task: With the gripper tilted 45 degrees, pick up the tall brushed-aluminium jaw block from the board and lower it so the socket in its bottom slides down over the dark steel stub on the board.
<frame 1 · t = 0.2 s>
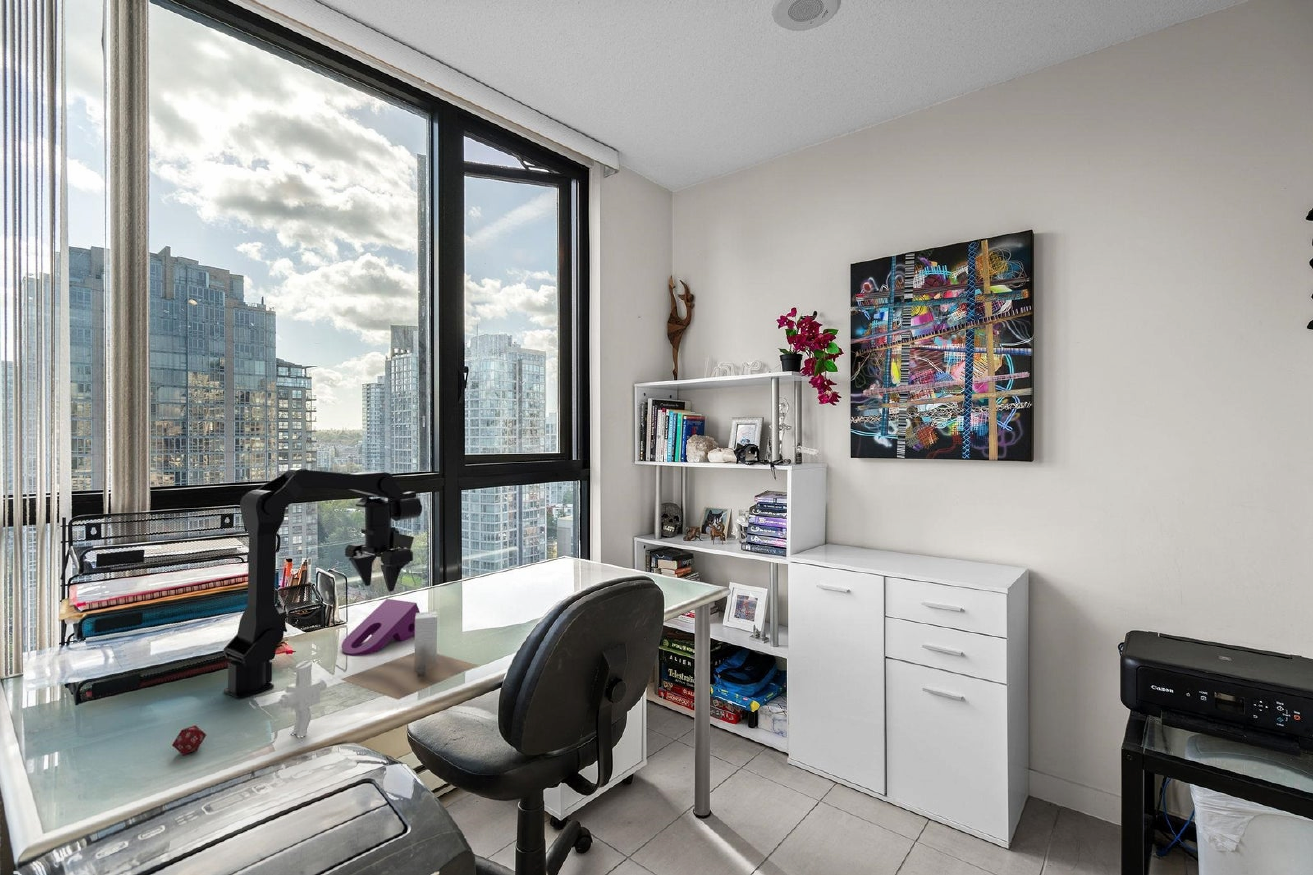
hand: (379, 588, 143), 14 cm above the table, tool pointing down, fingers open, 9 cm apart
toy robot: (303, 733, 103), on the table
stub board: (411, 677, 126), on the table
dice: (189, 753, 96), on the table
jaw block: (425, 665, 130), point 1 cm above the table, touching stub board
mounting bracket: (379, 648, 144), on the table
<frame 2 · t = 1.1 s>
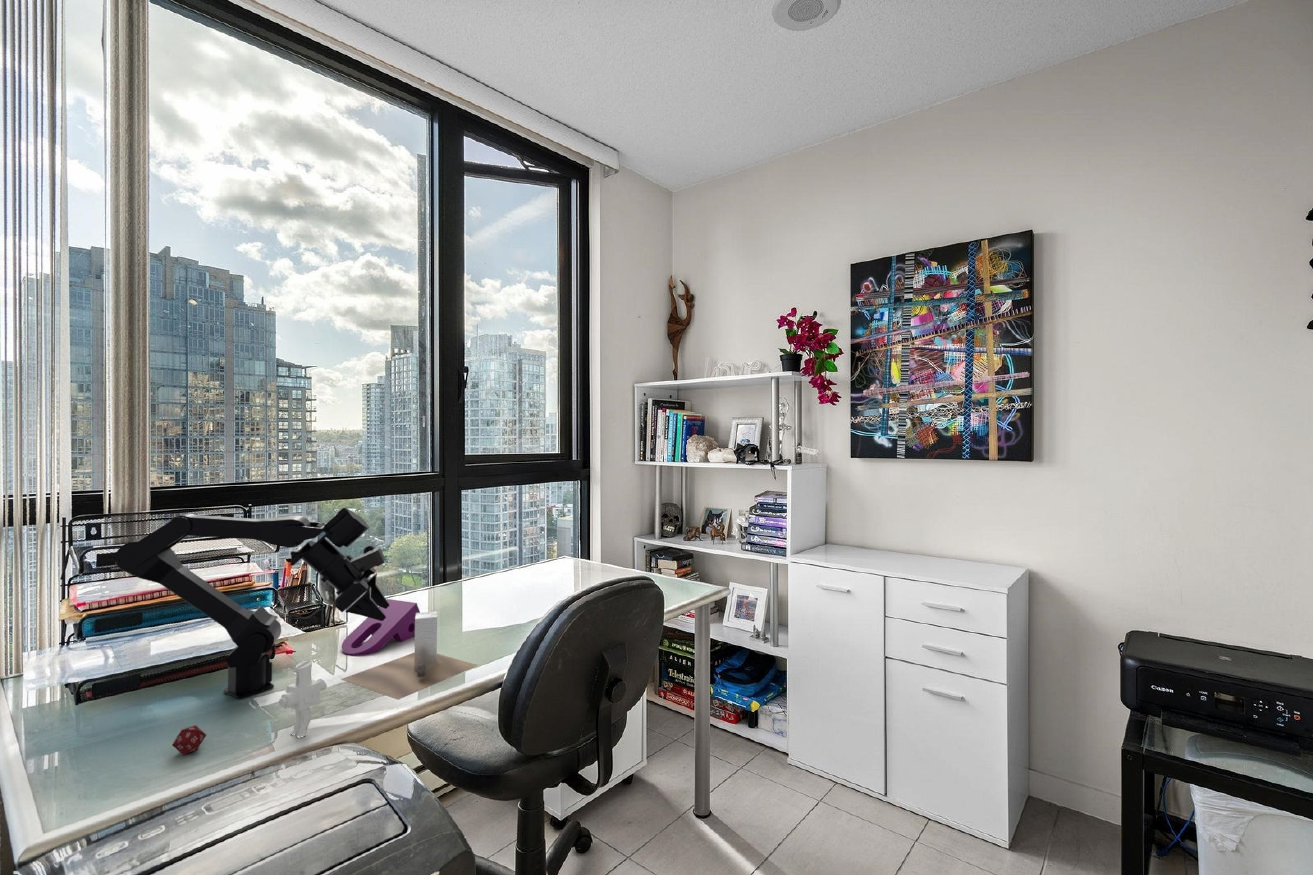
hand: (386, 612, 128), 13 cm above the table, tool tilted 45°, fingers open, 9 cm apart
nothing on the table moved.
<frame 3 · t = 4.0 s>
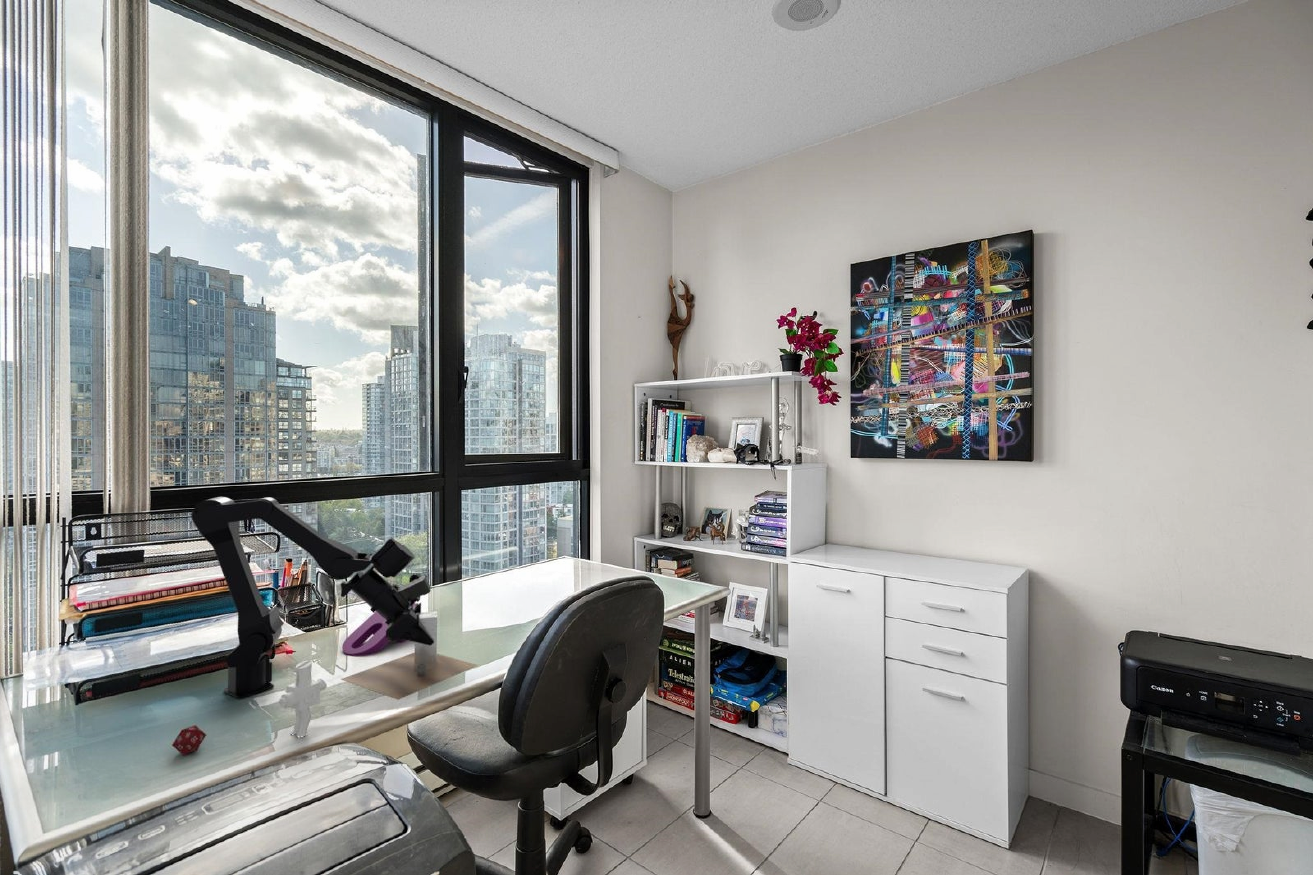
hand: (432, 640, 130), 7 cm above the table, tool tilted 45°, fingers closed on jaw block, 4 cm apart
jaw block: (425, 665, 130), point 1 cm above the table, touching gripper, stub board
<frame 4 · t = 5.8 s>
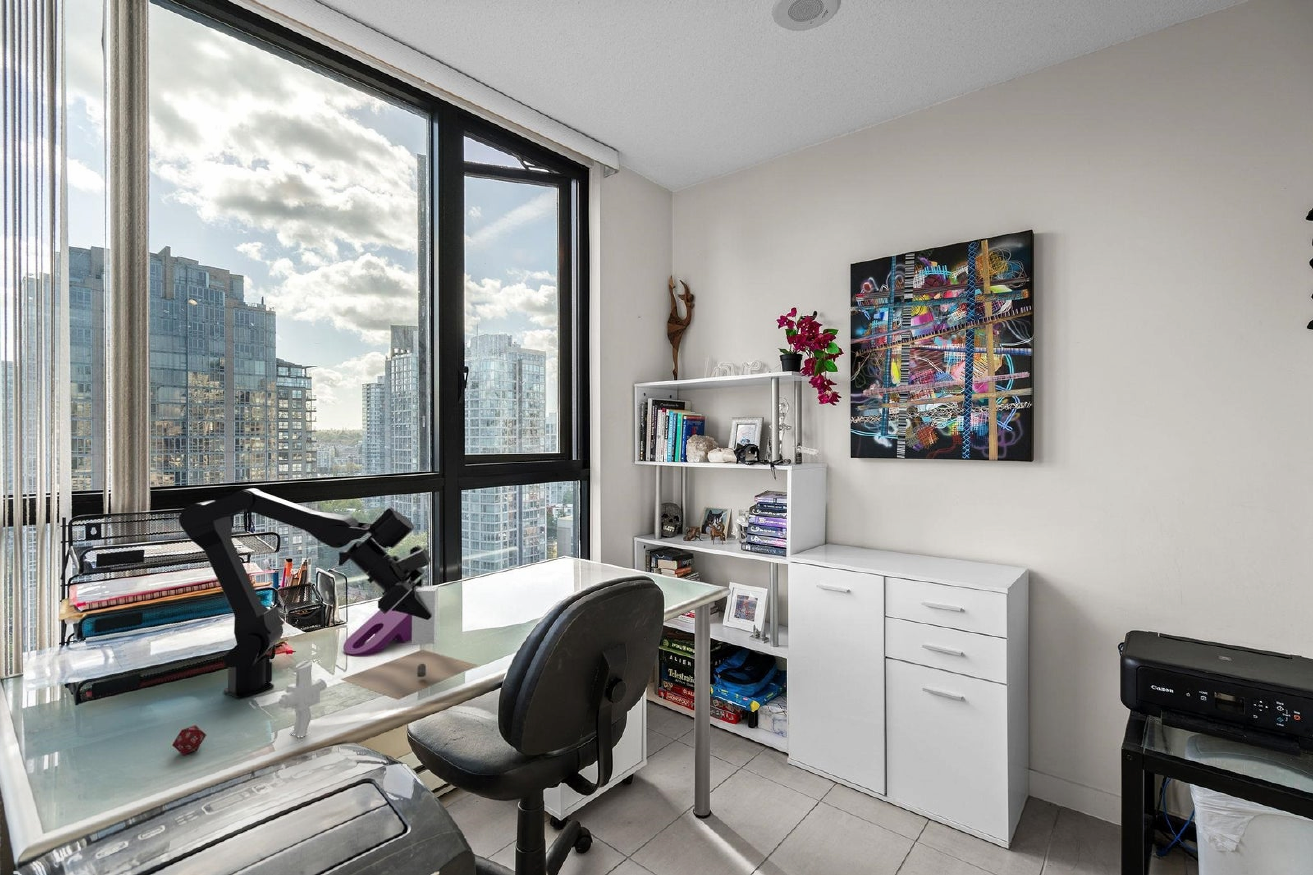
hand: (432, 614, 126), 13 cm above the table, tool tilted 45°, fingers closed on jaw block, 4 cm apart
jaw block: (424, 640, 126), point 8 cm above the table, touching gripper
when the fingers open (7 cm above the table, at t = 7.9 s): jaw block stays where it is, resting on stub board.
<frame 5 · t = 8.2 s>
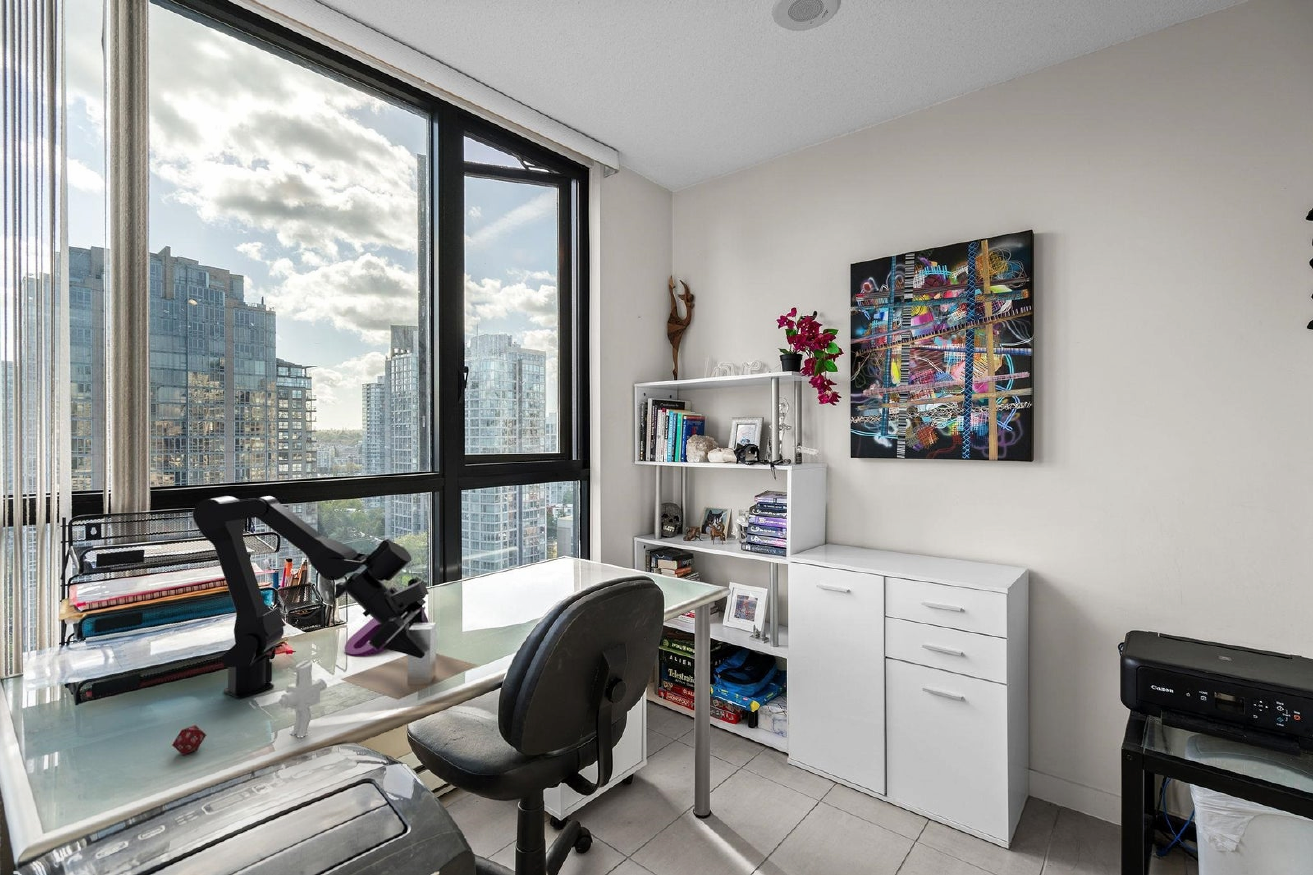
hand: (428, 649, 123), 7 cm above the table, tool tilted 45°, fingers open, 8 cm apart
jaw block: (421, 679, 122), point 1 cm above the table, touching stub board
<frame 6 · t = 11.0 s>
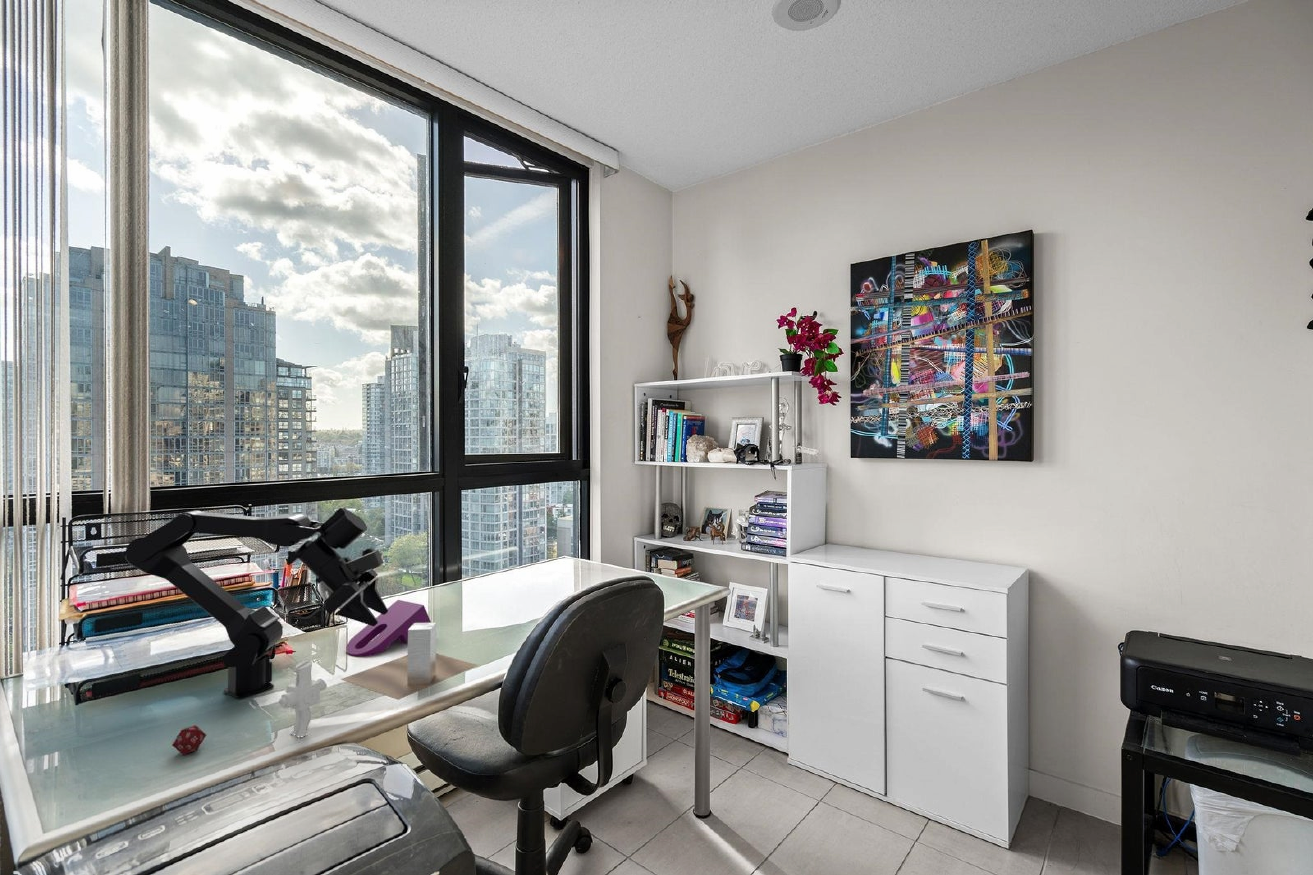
hand: (381, 618, 123), 13 cm above the table, tool tilted 45°, fingers open, 9 cm apart
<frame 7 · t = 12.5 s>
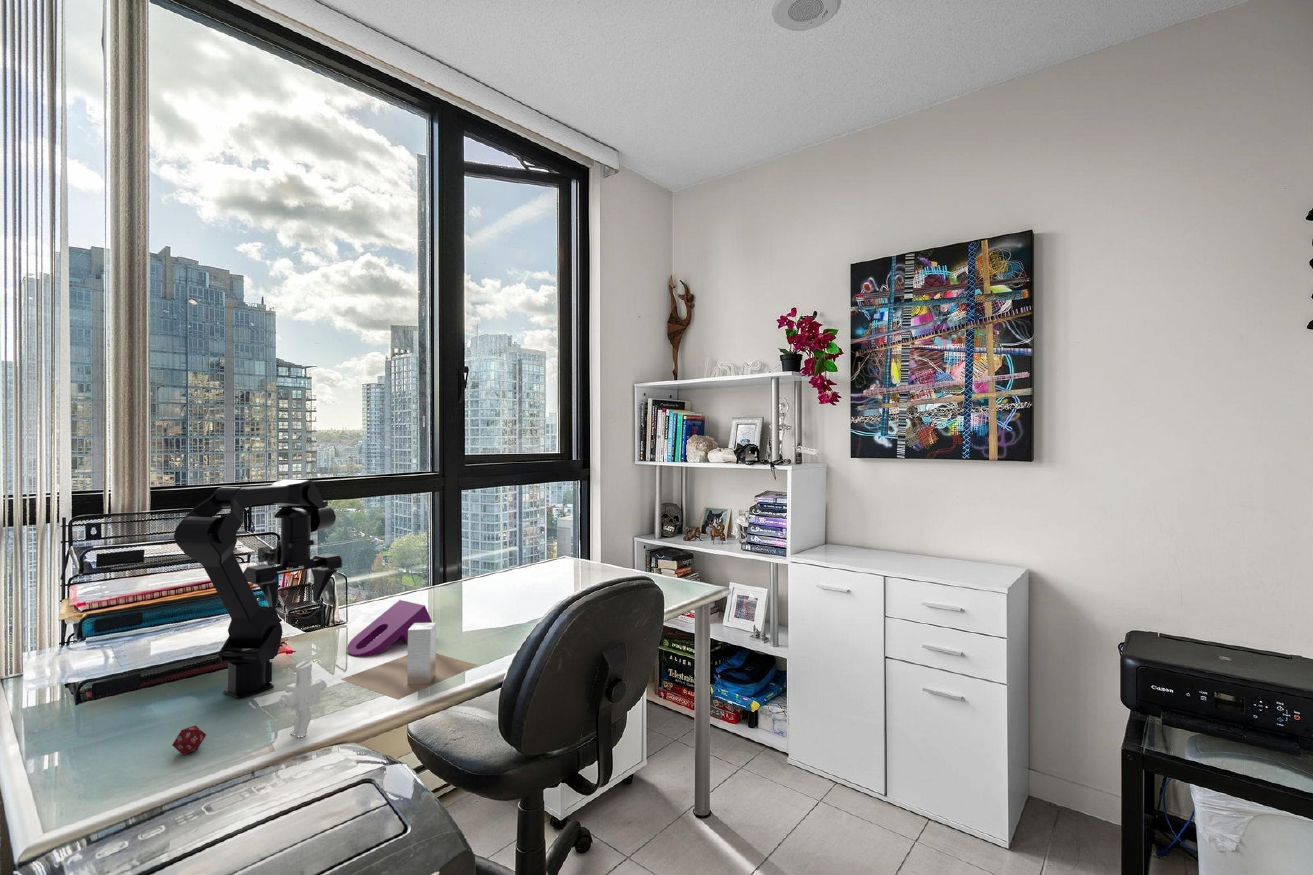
hand: (295, 606, 132), 13 cm above the table, tool pointing down, fingers open, 9 cm apart
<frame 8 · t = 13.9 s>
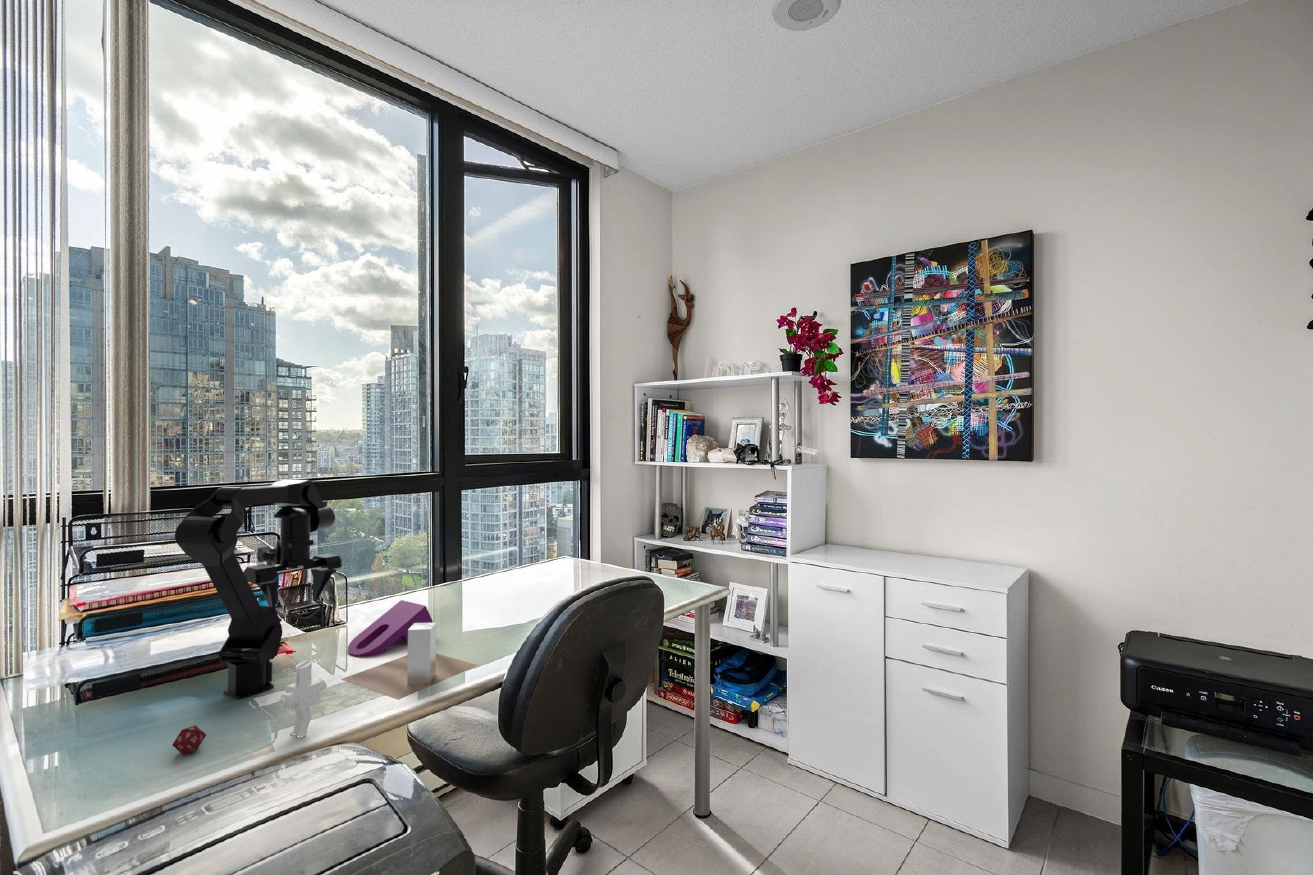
hand: (294, 606, 132), 13 cm above the table, tool pointing down, fingers open, 9 cm apart
at the end: jaw block 0.1 cm from the target spot on the stub board, point 1.2 cm above the stub board's base; jaw block tilted 0°; the gripper is holding nothing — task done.
